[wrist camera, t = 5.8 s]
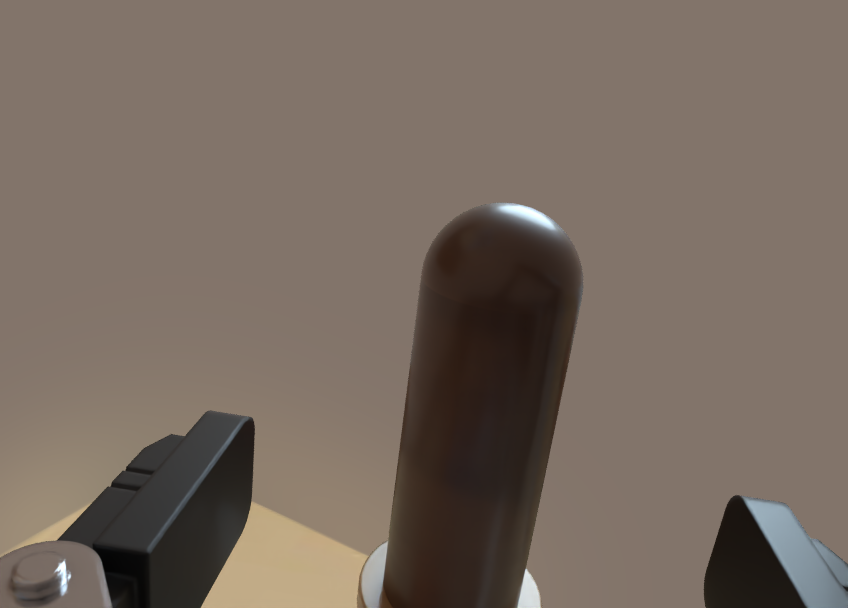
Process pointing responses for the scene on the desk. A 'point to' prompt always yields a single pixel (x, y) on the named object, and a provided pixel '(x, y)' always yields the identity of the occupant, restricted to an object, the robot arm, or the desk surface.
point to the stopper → (478, 413)
